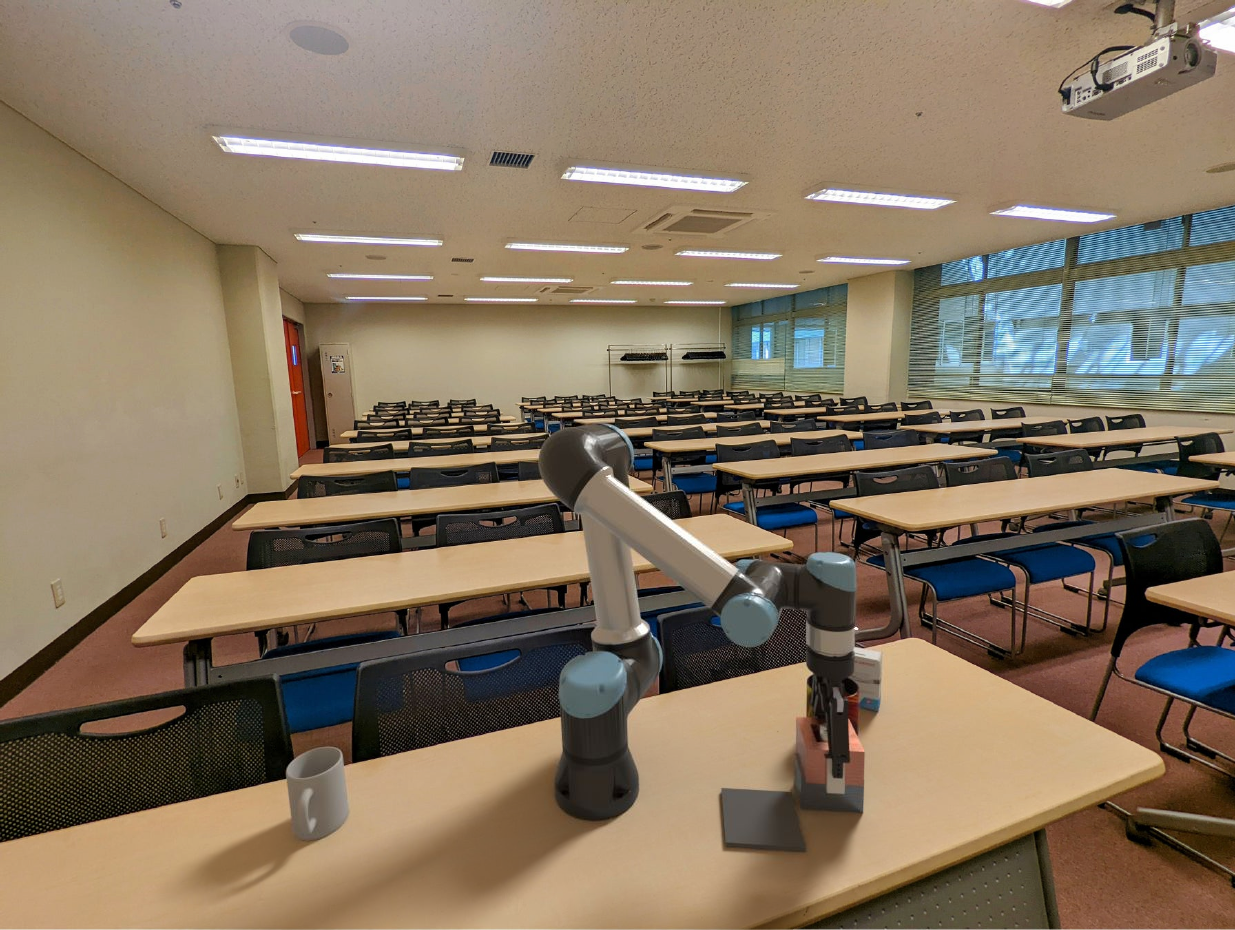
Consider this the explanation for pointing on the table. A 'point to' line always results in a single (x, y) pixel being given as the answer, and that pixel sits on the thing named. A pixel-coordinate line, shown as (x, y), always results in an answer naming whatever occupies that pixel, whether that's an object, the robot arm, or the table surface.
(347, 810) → the mug
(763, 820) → the mat
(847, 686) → the mug
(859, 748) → the red square hollow block
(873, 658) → the ink box
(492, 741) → the table surface
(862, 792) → the toggle switch
